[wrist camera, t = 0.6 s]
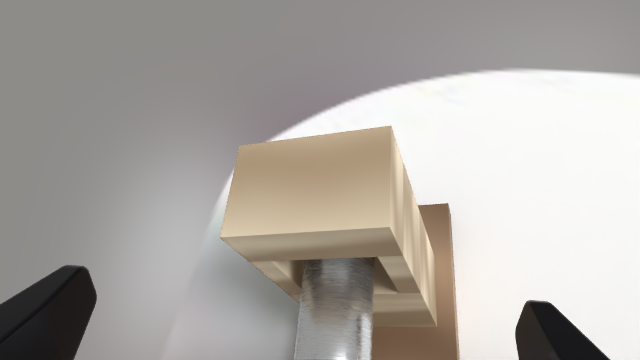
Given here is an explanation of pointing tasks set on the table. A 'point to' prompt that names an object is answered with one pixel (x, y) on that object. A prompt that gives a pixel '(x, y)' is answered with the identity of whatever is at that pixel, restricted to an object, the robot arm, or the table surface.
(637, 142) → the table surface
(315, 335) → the shaft
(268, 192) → the bearing stand
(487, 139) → the table surface
